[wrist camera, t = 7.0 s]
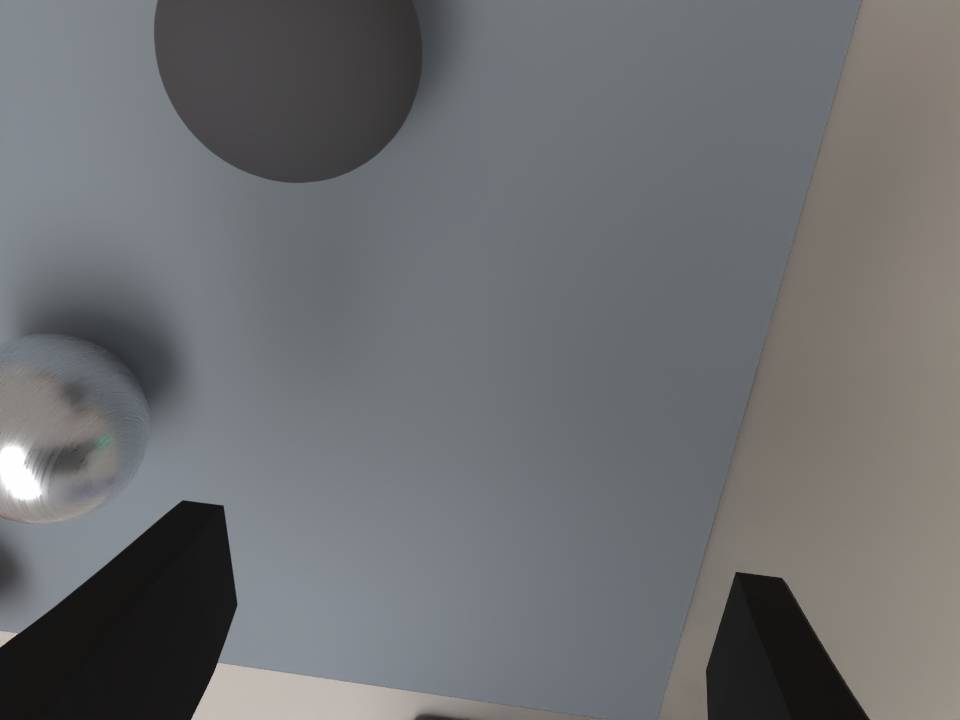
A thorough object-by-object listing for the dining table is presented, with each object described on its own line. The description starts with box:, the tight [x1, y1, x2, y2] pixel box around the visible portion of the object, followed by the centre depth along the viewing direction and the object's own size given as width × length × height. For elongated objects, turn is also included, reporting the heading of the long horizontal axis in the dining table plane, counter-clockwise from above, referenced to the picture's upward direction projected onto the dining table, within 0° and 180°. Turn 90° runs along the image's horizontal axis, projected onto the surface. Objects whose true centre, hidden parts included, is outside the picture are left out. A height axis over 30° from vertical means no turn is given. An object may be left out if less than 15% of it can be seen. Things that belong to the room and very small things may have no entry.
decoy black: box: [154, 0, 422, 183], centre depth 10 cm, size 3×3×3 cm
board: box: [0, 0, 862, 720], centre depth 16 cm, size 16×22×4 cm
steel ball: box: [0, 334, 151, 524], centre depth 14 cm, size 3×3×3 cm
